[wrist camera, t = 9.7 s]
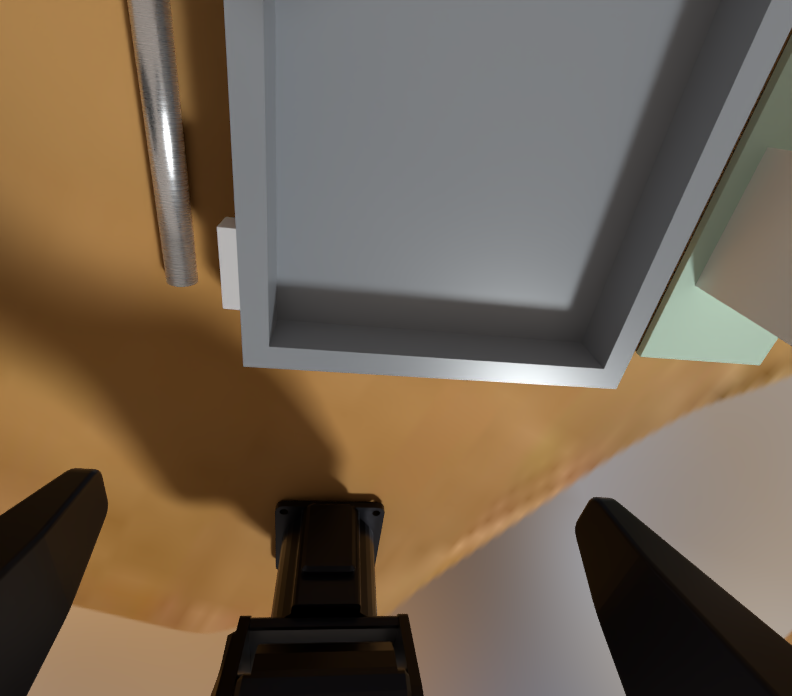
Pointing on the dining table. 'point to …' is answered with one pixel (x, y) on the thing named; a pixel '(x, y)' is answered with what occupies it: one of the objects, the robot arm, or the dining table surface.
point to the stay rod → (164, 135)
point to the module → (758, 250)
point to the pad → (683, 301)
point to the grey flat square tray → (475, 176)
